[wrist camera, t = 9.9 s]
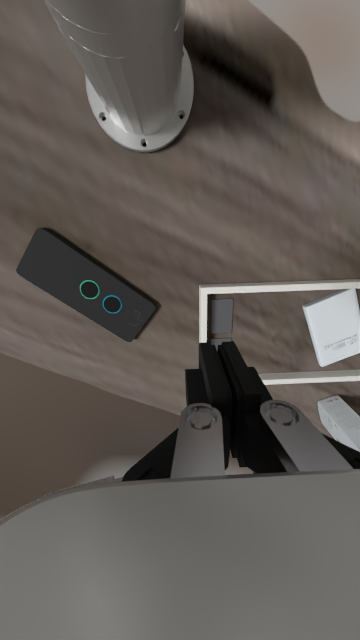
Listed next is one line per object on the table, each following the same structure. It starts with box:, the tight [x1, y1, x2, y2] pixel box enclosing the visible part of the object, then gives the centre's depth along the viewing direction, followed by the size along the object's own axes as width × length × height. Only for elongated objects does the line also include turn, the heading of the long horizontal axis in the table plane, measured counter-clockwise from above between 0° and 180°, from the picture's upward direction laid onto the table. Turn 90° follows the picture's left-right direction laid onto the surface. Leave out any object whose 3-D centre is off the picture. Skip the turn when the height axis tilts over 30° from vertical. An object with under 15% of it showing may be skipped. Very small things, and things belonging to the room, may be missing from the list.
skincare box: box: [318, 395, 360, 452], centre depth 42 cm, size 6×4×12 cm
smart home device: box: [16, 228, 156, 342], centre depth 37 cm, size 8×2×20 cm
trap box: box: [199, 279, 360, 385], centre depth 40 cm, size 18×33×4 cm, turn 92°
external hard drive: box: [303, 289, 360, 366], centre depth 41 cm, size 2×8×12 cm
